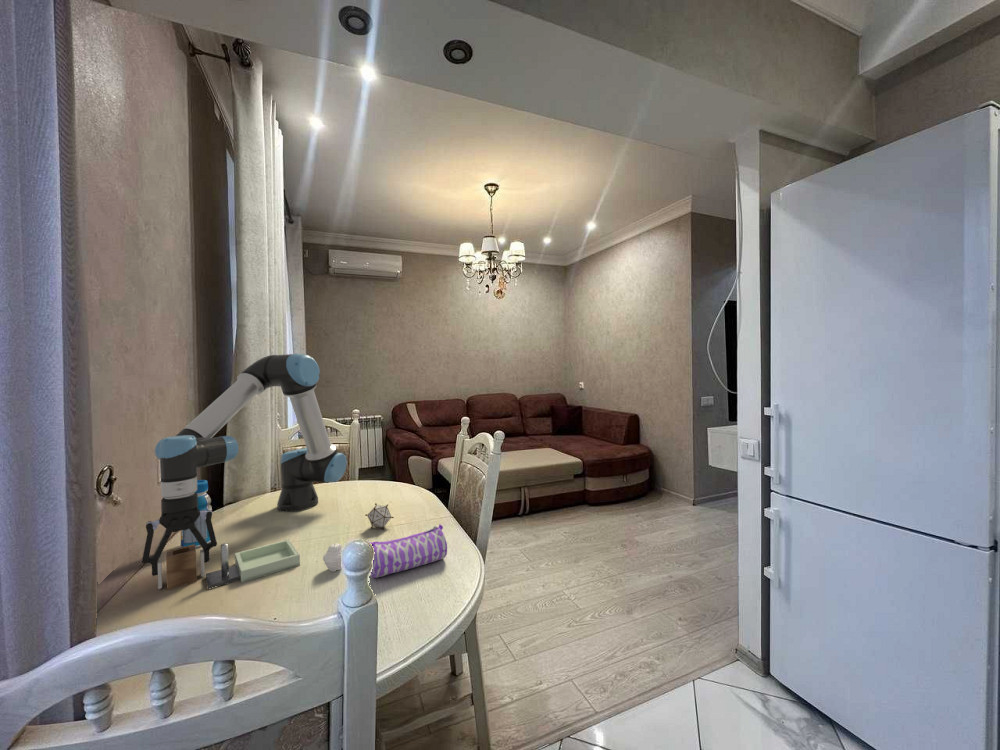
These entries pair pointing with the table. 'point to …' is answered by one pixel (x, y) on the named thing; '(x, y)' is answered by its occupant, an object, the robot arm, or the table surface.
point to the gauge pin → (223, 571)
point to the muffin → (333, 557)
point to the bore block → (181, 566)
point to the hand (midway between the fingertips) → (182, 580)
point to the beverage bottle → (200, 523)
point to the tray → (266, 560)
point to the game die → (379, 516)
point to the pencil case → (408, 552)
